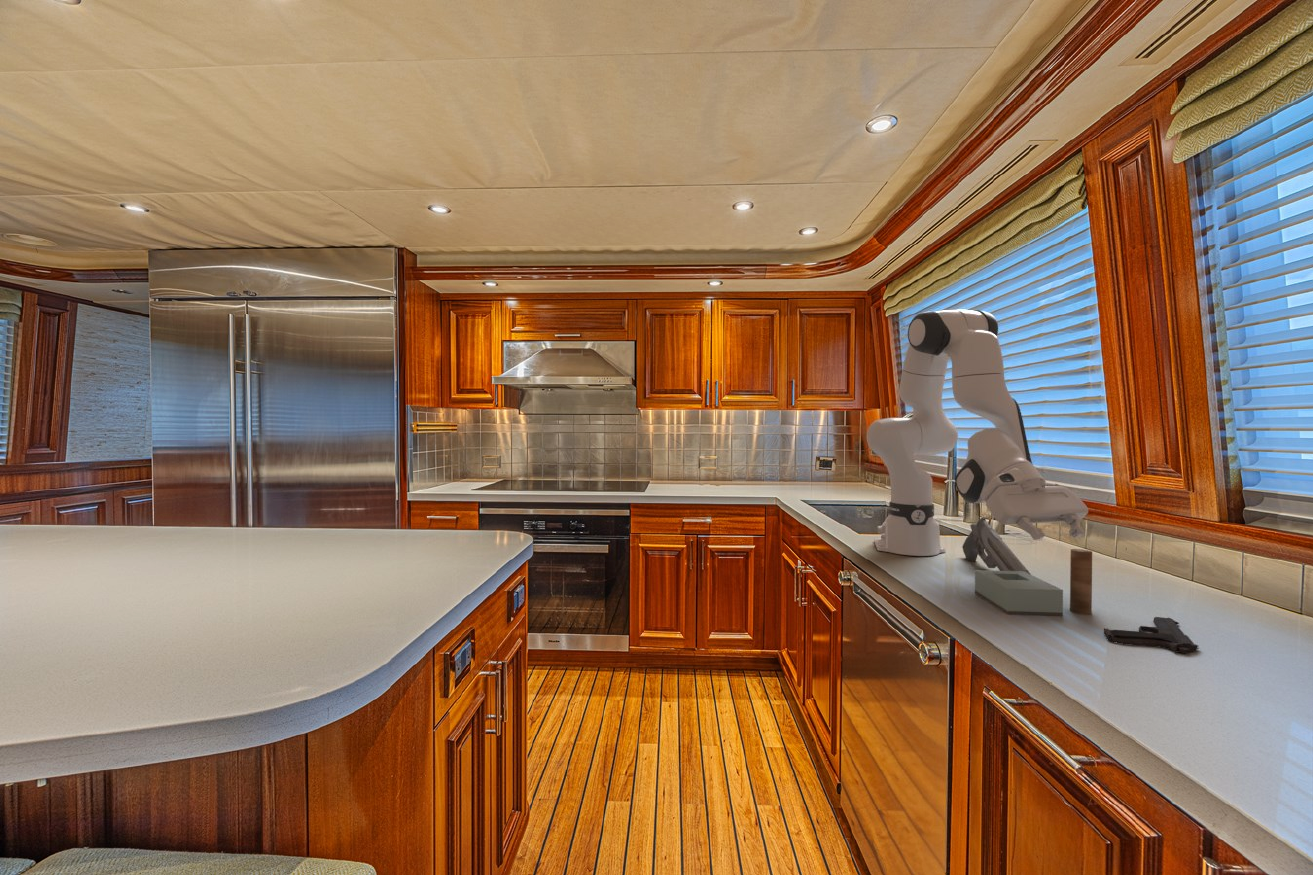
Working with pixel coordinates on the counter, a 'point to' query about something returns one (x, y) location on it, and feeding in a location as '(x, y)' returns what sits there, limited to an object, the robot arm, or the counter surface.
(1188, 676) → the counter surface
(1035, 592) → the socket block
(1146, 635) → the handgun
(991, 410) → the robot arm
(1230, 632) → the counter surface
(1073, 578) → the walnut dowel
